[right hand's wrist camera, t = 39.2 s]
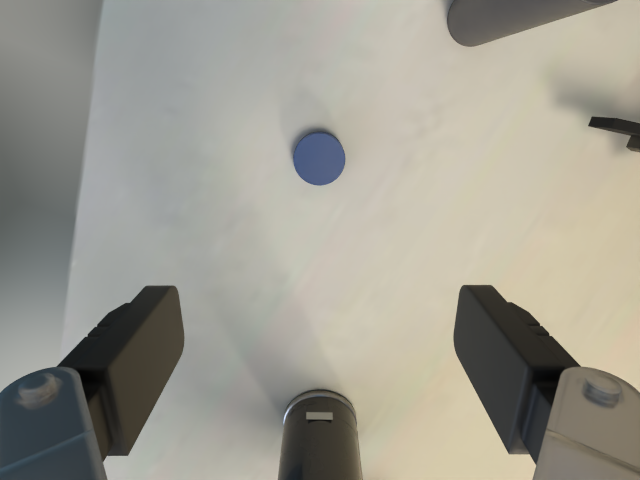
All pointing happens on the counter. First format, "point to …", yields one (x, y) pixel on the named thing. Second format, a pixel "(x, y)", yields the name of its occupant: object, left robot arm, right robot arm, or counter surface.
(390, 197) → the counter surface
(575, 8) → the grey cylinder
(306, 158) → the lid
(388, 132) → the counter surface
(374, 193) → the counter surface
